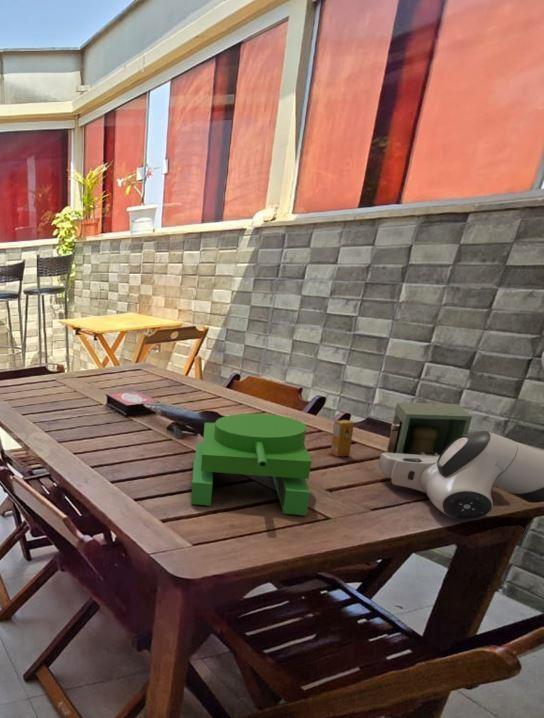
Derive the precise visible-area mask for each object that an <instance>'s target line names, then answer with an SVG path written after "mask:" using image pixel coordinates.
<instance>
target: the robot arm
mask: <svg viewBox="0 0 544 718" xmlns="http://www.w3.org/2000/svg"><path fill="white" fill-rule="evenodd" d="M541 366H542V369H544V350H543V352H542V353H541ZM378 467H379V469H380V471H381V472H382V473H383V474H384V476H386V477H388V478H390V479H391V480H390V481H391V484H392V485H395V486H399V487H404V488H407V489H413V490H416V491H419V492H421V493H425V494H426V495H427V497H428V499H429V500H430V502H431V503H432V504H433V506H434V507H436V508H437V509H438V511H440V512H441V513H442V514H444V515H446V516H448V517H451V518H453V519H457V520H476V519H480V518H483V517H485V516H487V515H488V514H489V513H490V512H491V511H492V510H493V507H494V502H493V497H492V489H493V487H494V488H497V489H500V490H502V491H505V492H507V493H508V494H509V495H512V496H514V497H516V498H518V499H521V500H523V501H525V502H527V503H531V504H536V503H544V450H541V449H538V448H535V447H533V446H529V445H527V444H524V443H521V442H518V441H515V440H514V439H511V438H507V437H505V436H502V435H499V434H496V433H493V432H490V431H488V430H478V431H473V432H470V433H469V432H468V434H466V435H464V436H461V437H459V438H457V439H455V440H454V441H452V442H451V443H450V444H449V445H448V446H447V447H446V448H445V449H444V451H443V452H442V453H441V455H438V454H437V453H428V452H421V453H420V455H416V454H401V453H387V451H386V452H382V453H381V454H380V455H379V459H378Z"/></svg>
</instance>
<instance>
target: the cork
mask: <svg viewBox="0 0 544 718" xmlns="http://www.w3.org/2000/svg"><path fill="white" fill-rule="evenodd" d="M411 435H412V437H413V439H412V441H411V444H410V446H409V448H408V451H407V453H406V454H416V455H420V453H421V452H428V453H434V444H435V439H436V438H438V436H439V429H438V428H436V427H434V426H430V425H417V426H415V427H414V428H413V429H412V431H411Z"/></svg>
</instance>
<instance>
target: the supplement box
mask: <svg viewBox="0 0 544 718" xmlns="http://www.w3.org/2000/svg"><path fill="white" fill-rule="evenodd" d="M354 426H355V423H354V422H353V421H350V420H348V419H343V420H334V423H333V431H332V438H331V447H330V454H331V455H333V456H334V457H336V458H337V457H349V456H350V452H351V445H352V439H353V433H354Z"/></svg>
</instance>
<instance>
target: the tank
mask: <svg viewBox="0 0 544 718" xmlns="http://www.w3.org/2000/svg"><path fill="white" fill-rule="evenodd" d="M203 427H204V428H203V440H202V441H203V442H202V441H198V442H196V445H195V446H196V447H195V454H194V460H193V464H192V480H191V481H192V482H191V493H190V496H191V497H190V505H200V506H208V507H209V506H210V507H211V506H212V495H213V482H214V481H213V480H214V473H221V474H234V475H235V474H236V475H237V474H238V475H247V476H248V475H250V476H262V477H271V478H272V480H273V483H274V487H275V490H276V494H277V497H278V501H279V503H280V506H281V509H282V514H285V515H286V514H287V515H296V516H304V517H305V516H308V509H309V502H310V495H311V491H310V488H309V486H308V483H307V480H309V479H310V473H311V466H312V459H311V457H310V455H309V452H308V449H307V447H306V445H305V440H306V435H307V434H306V433H307V425H306V424H305V423H304V422H302V421H300V420H297V419H295V418H291V417H288V416H284V415H283V416H282V415H276V414H270V413H237V414H231V415H226V416H222V417H219V418H217V419H216V421H214V422H204V426H203Z"/></svg>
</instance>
